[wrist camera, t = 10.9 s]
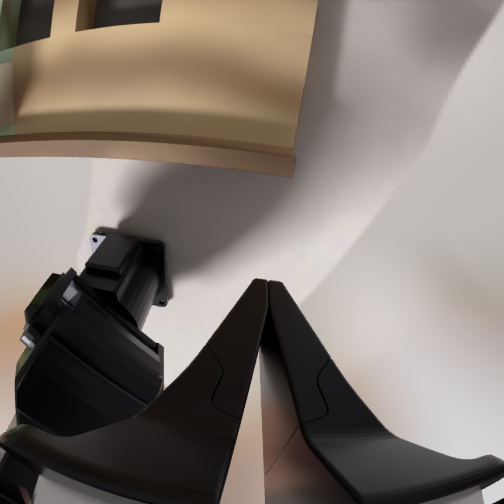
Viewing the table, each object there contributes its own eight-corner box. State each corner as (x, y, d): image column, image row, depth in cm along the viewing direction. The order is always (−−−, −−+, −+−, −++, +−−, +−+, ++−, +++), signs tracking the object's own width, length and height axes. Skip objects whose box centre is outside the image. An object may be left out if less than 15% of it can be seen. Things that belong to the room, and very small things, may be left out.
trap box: (287, 153, 19) (292, 178, 15) (-9, 140, 18) (-44, 159, 15) (320, -49, 11) (333, -76, 7) (-4, -9, 11) (-41, -8, 7)
